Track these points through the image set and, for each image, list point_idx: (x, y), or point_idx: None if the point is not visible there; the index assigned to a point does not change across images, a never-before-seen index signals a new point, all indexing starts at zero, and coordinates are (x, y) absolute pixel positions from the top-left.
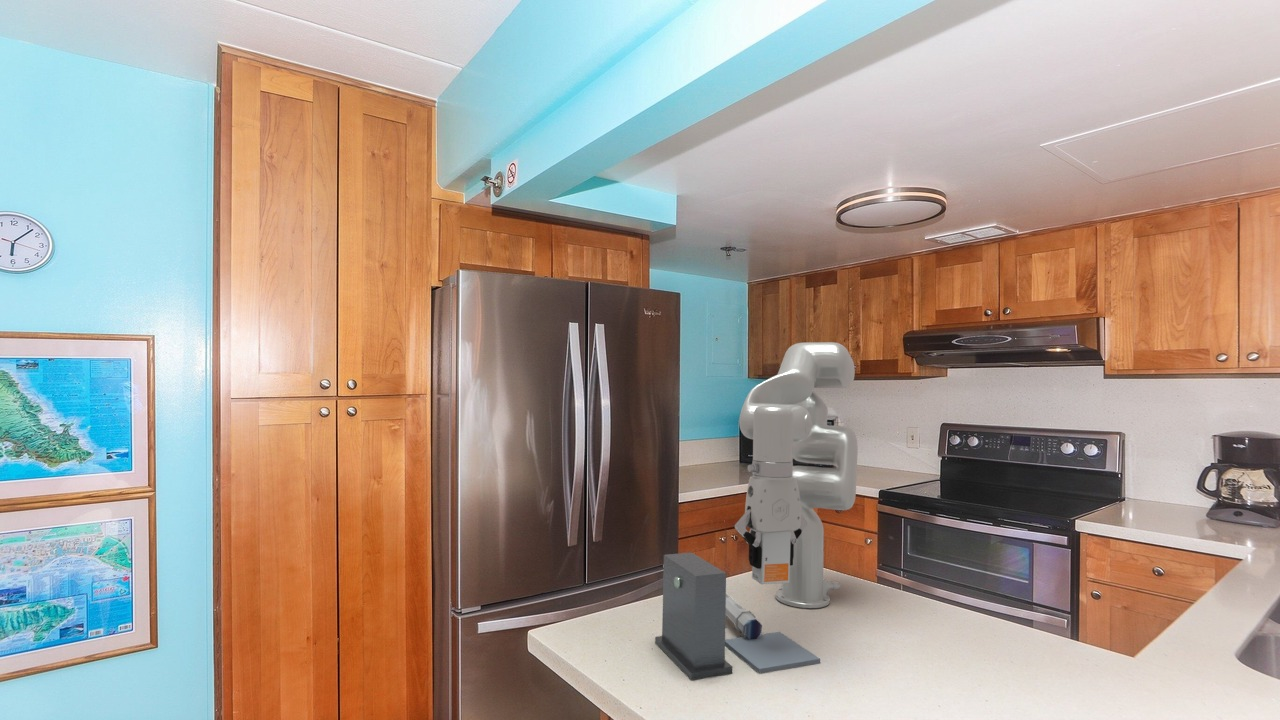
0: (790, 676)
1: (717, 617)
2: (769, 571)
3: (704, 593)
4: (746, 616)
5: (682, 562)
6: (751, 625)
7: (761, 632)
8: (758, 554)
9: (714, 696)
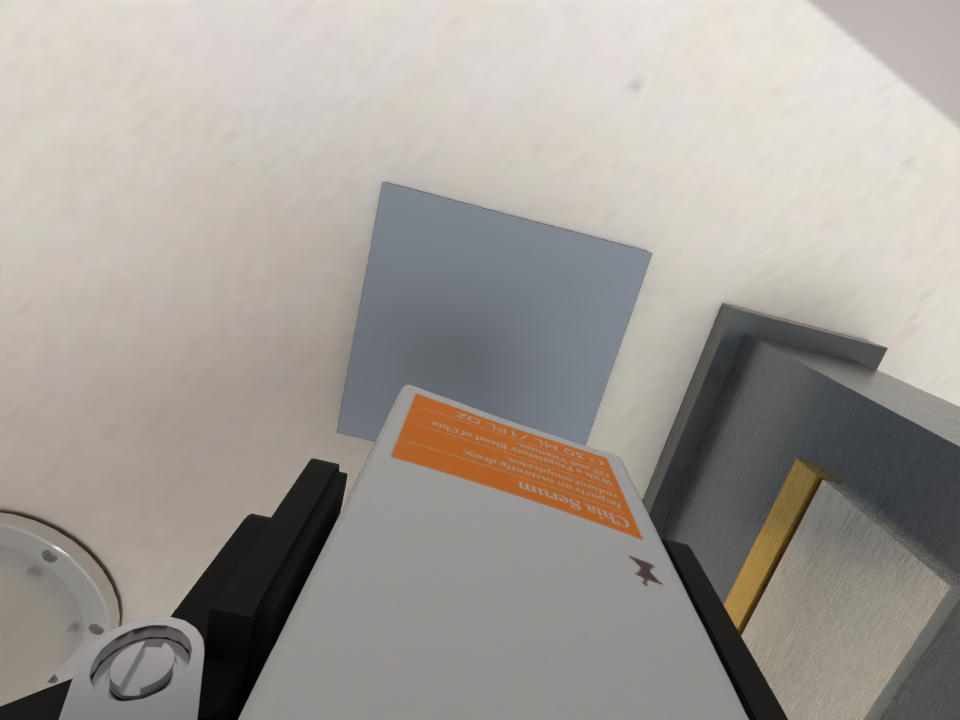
0: (570, 171)
1: (913, 408)
2: (582, 484)
3: None
4: None
5: None
6: None
7: None
8: (741, 650)
9: (905, 216)
